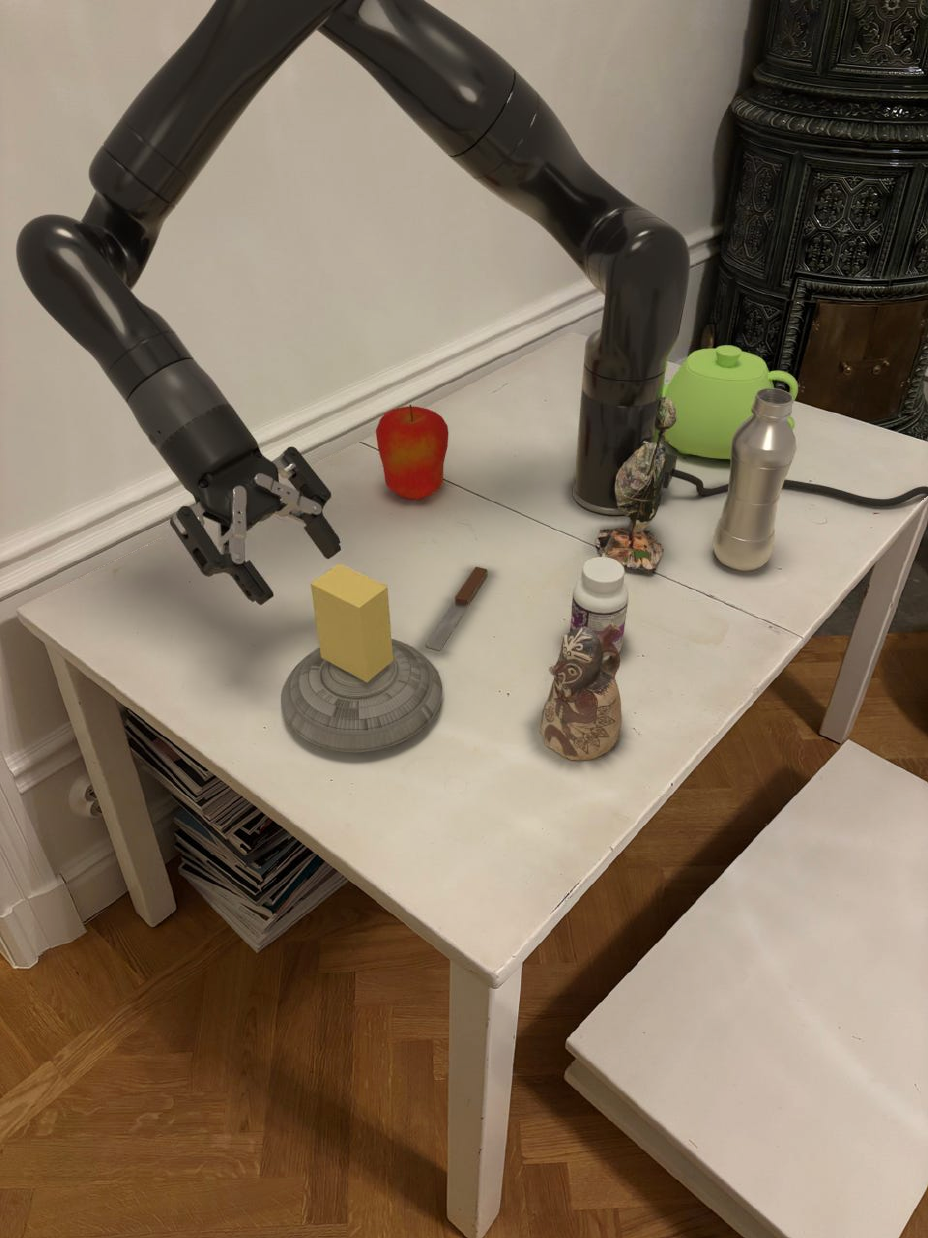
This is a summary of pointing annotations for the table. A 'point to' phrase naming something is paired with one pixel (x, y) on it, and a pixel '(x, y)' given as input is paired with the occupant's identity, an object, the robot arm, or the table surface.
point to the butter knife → (457, 609)
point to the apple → (412, 450)
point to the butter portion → (353, 621)
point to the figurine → (584, 696)
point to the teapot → (717, 398)
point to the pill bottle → (600, 598)
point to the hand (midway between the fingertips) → (302, 576)
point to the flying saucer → (361, 701)
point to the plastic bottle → (756, 482)
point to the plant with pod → (640, 499)
